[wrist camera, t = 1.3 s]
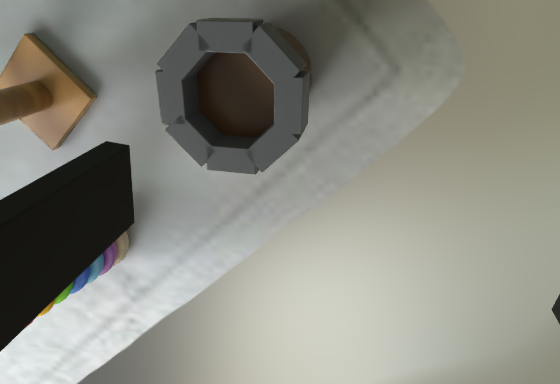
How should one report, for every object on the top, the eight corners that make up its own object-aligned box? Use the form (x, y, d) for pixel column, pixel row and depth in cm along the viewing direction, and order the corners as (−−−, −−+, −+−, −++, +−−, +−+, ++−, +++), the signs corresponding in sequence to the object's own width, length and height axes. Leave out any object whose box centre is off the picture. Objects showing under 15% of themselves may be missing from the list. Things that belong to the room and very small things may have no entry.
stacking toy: (135, 213, 45) (-9, 340, 28) (129, 269, 49) (0, 410, 32) (69, 191, 46) (-108, 301, 29) (69, 247, 49) (-89, 375, 33)
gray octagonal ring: (235, -17, 25) (222, -18, 23) (338, 99, 27) (335, 109, 25) (149, 89, 30) (130, 96, 27) (242, 184, 31) (232, 198, 29)
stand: (267, 5, 33) (236, 8, 26) (330, 77, 34) (317, 98, 27) (208, 71, 36) (167, 90, 29) (267, 134, 38) (242, 166, 31)
